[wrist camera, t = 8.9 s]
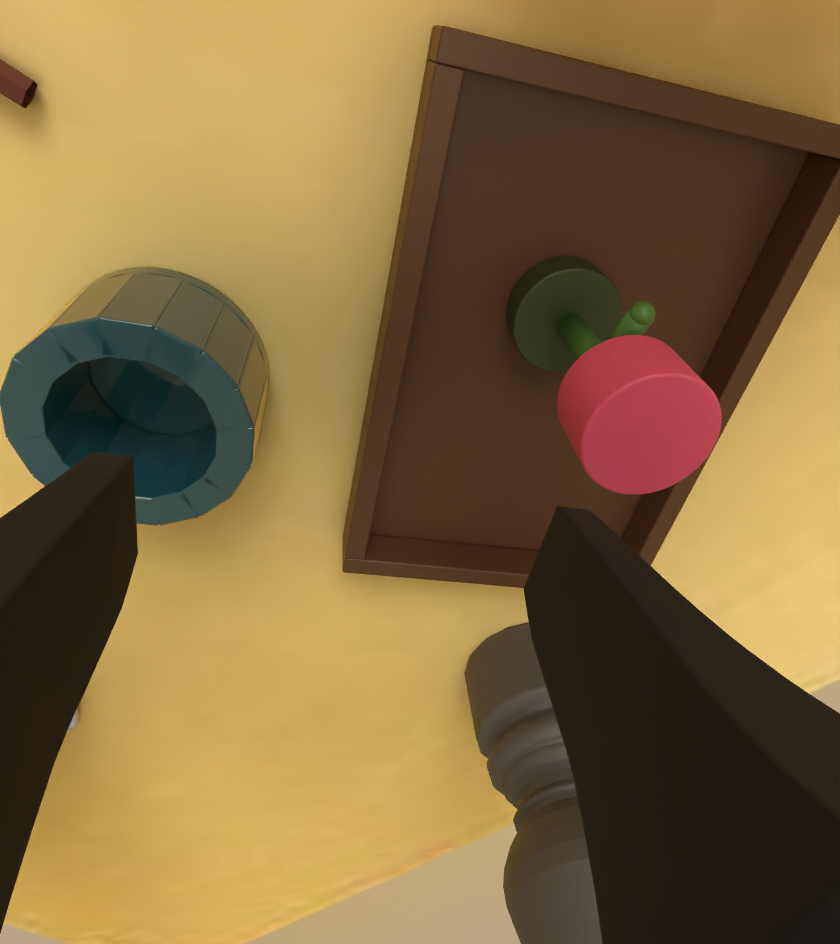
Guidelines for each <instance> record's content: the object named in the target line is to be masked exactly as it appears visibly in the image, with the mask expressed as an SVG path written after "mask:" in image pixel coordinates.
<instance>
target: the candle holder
mask: <svg viewBox="0 0 840 944" xmlns="http://www.w3.org/2000/svg"><path fill="white" fill-rule="evenodd" d="M465 678H466V684H467V689H468V695H469V701H470V706H471V712H472V718H473V723H474V729H475V735H476V738H477V742H478V745H479V748H480V751H481V753H482V754H483V755H484V756H485V757H487V758H488V761H487V768H488V772H489V775H490V778H491V781H492V784H493V786H494V787H495V789H497V790H498V791H499V792H501V793H502V794H503V795H505V797H506V799H507V800H508V801H509V802H510V803H511V804H513V806H514V807H515V808H517V809H518V810H517V812H516V814H515V816H514V819H513V821H514V824H515V827H516V831H517V834H516V837H515V838H514V840H513V842H512V845H511V846H510V850H509V853H508V857H507V861H506V864H505V868H504V884H503V888H504V894H505V899H506V904H507V908H508V911H509V914H510V916H511V919H512V922H513V924H514V927H515V929H516V932H517V935H518V937H519V939H520V942H521V944H602V937H601V930H600V923H599V916H598V909H597V903H596V896H595V890H594V884H593V878H592V873H591V867H590V861H589V855H588V850H587V844H586V838H585V833H584V828H583V823H582V818H581V813H580V808H579V803H578V798H577V793H576V788H575V783H574V778H573V774H572V770H571V767H570V763H569V759H568V755H567V752H566V748H565V745H564V742H563V739H562V735H561V732H560V729H559V726H558V723H557V719H556V716H555V713H554V710H553V707H552V703H551V700H550V697H549V694H548V691H547V687H546V684H545V681H544V678H543V674H542V671H541V668H540V664H539V661H538V658H537V654H536V651H535V648H534V644H533V641H532V637H531V631H530V625H529V623H527V624H523V625H518V626H514V627H509V628H507V629H505V630H503V631H501V632H499V633H497V634H496V635H494V636H492V637H490V638H488V639H486V640H485V641H484V642H483V643H482V644H481V645H480V646H479V647H478V648H477V649H476V650H475V651H474V652H473V653H472V655H471V656H470V658H469V661H468V664H467V667H466V670H465Z"/></svg>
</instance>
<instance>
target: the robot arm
mask: <svg viewBox="0 0 840 944" xmlns="http://www.w3.org/2000/svg"><path fill="white" fill-rule="evenodd" d="M137 554H138V549H137V526H136V503H135V480H134V457H130V456H121V455H113V454H104V453H95V452H92V453H91V454H89V455H88V456H86V457H85V458H84V459H82V460H81V461H79V462H78V463H76V464H75V465H74V466H72V467H71V468H69V469H68V470H67V471H65V472H64V473H63V474H61V475H60V476H59V477H57V478H56V479H54V480H53V481H52V482H50V483H49V484H48V485H46V486H45V487H44V488H42V489H41V490H39V491H38V492H37V493H35V494H34V495H32V496H31V497H30V498H28V499H27V500H26V501H24V502H23V503H21V504H20V505H18V506H17V507H16V508H14V509H13V510H11V511H10V512H8V513H7V514H5V515H4V516H3V517H1V518H0V933H1V929H2V926H3V922H4V919H5V916H6V912H7V909H8V905H9V902H10V899H11V896H12V892H13V889H14V886H15V883H16V880H17V876H18V873H19V870H20V867H21V864H22V860H23V857H24V854H25V851H26V848H27V845H28V841H29V838H30V835H31V832H32V829H33V826H34V822H35V819H36V816H37V813H38V810H39V807H40V804H41V801H42V798H43V795H44V792H45V789H46V786H47V783H48V780H49V777H50V774H51V771H52V768H53V765H54V762H55V760H56V757H57V755H58V752H59V750H60V747H61V745H62V742H63V740H64V737H65V735H66V732H67V730H69V729H72V728H74V727H75V726H76V725H77V722H78V720H79V714H78V705H79V703H80V701H81V699H82V696H83V694H84V692H85V690H86V688H87V685H88V683H89V681H90V679H91V676H92V674H93V672H94V670H95V667H96V665H97V663H98V661H99V659H100V656H101V654H102V652H103V650H104V647H105V645H106V643H107V641H108V638H109V636H110V634H111V631H112V629H113V627H114V625H115V622H116V620H117V618H118V615H119V613H120V611H121V608H122V605H123V602H124V599H125V596H126V592H127V589H128V586H129V582H130V579H131V575H132V572H133V568H134V565H135V561H136V558H137ZM524 593H525V600H526V607H527V614H528V620H529V625H530V631H531V637H532V641H533V644H534V648H535V651H536V654H537V658H538V661H539V664H540V668H541V671H542V674H543V678H544V681H545V684H546V687H547V691H548V694H549V697H550V700H551V703H552V707H553V710H554V713H555V716H556V719H557V723H558V726H559V729H560V732H561V735H562V739H563V742H564V745H565V748H566V752H567V755H568V759H569V763H570V767H571V770H572V774H573V778H574V783H575V788H576V793H577V798H578V803H579V808H580V813H581V818H582V823H583V828H584V833H585V838H586V844H587V850H588V855H589V861H590V867H591V873H592V878H593V884H594V890H595V896H596V903H597V909H598V916H599V923H600V930H601V937H602V944H840V714H839V713H838V712H836V711H835V710H833V709H832V708H830V707H829V706H827V705H825V704H824V703H822V702H821V701H819V700H818V699H816V698H815V697H813V696H812V695H810V694H808V693H807V692H805V691H804V690H803V689H801V688H800V687H798V686H797V685H795V684H794V683H792V682H791V681H789V680H788V679H787V678H785V677H784V676H782V675H781V674H780V673H778V672H777V671H776V670H774V669H773V668H771V667H770V666H769V665H767V664H766V663H765V662H763V661H762V660H761V659H759V658H758V657H757V656H755V655H754V654H753V653H751V652H750V651H748V650H747V649H746V648H745V647H743V646H742V645H741V644H739V643H738V642H737V641H736V640H734V639H733V638H732V637H731V636H729V635H728V634H727V633H726V632H724V631H723V630H722V629H721V628H720V627H719V626H717V625H716V624H715V623H714V622H713V621H711V620H710V619H709V618H708V617H707V616H705V615H704V614H703V613H702V612H701V611H700V610H698V609H697V608H696V607H695V606H694V605H693V604H691V603H690V602H689V601H688V600H687V599H686V598H685V597H684V596H682V595H681V594H680V593H679V592H678V591H677V590H676V589H675V588H674V587H673V586H671V585H670V584H669V583H668V582H667V581H666V580H665V579H664V578H663V577H662V576H661V575H660V574H658V573H657V572H656V571H655V570H654V569H653V568H652V567H651V566H650V565H649V564H648V563H647V562H646V561H645V560H644V559H643V558H641V557H640V556H639V555H638V554H637V553H636V552H635V551H634V550H633V549H632V548H631V547H630V546H629V545H628V544H627V543H626V542H625V541H624V540H622V539H621V538H620V537H619V536H618V535H617V534H616V533H615V532H614V531H613V530H612V529H611V528H610V527H609V526H607V525H606V524H605V523H604V522H603V521H602V520H601V519H600V518H598V517H597V516H596V515H595V514H594V513H592V512H591V511H590V510H589V509H580V508H571V507H563V506H557V508H556V510H555V513H554V515H553V517H552V520H551V522H550V525H549V527H548V530H547V532H546V535H545V537H544V539H543V542H542V544H541V547H540V549H539V552H538V554H537V557H536V559H535V562H534V564H533V566H532V569H531V571H530V574H529V576H528V579H527V581H526V584H525V586H524Z"/></svg>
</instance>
